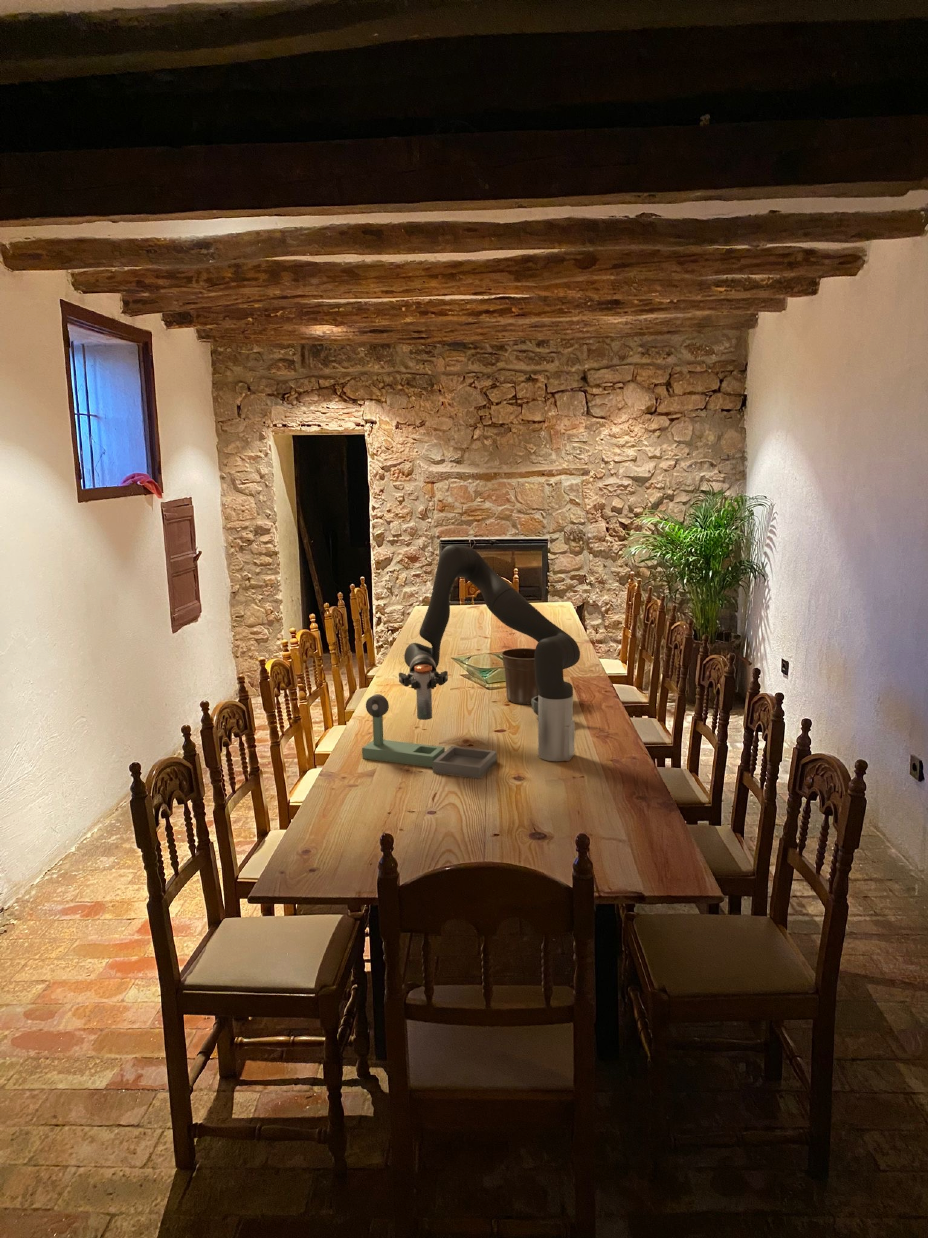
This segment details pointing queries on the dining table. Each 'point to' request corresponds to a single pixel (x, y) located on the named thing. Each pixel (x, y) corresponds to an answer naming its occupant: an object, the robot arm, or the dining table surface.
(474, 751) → the pin tray
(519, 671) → the plant pot
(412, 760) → the pulley bracket
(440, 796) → the dining table surface
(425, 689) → the pin
